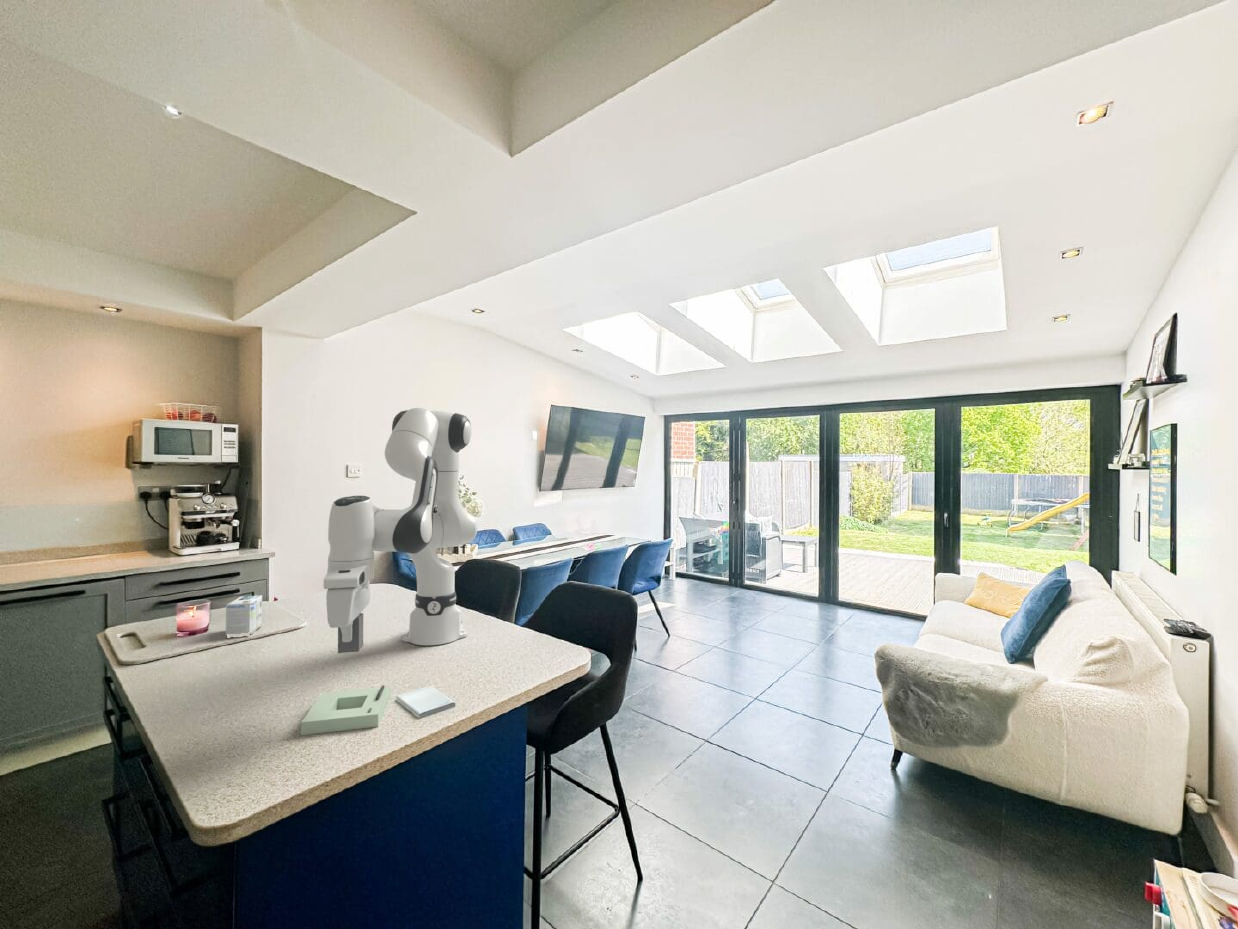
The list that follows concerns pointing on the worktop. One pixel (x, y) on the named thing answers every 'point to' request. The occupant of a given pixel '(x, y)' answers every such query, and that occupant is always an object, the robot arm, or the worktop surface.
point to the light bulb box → (243, 614)
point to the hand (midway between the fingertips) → (350, 637)
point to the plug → (357, 637)
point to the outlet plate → (347, 710)
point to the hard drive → (425, 701)
